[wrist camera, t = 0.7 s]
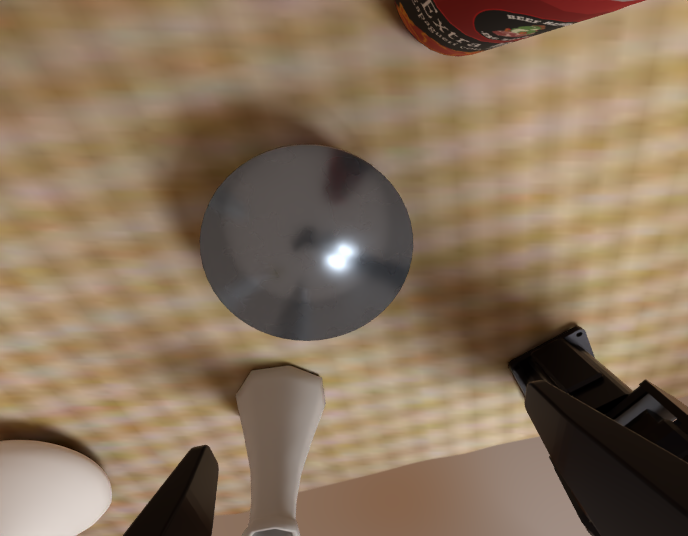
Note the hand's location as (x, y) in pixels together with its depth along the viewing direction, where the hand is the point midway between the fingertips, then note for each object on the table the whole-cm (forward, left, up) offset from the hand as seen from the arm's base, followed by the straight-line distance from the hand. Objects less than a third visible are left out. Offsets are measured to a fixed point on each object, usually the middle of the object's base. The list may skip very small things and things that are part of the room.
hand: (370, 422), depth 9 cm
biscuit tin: (+1, +1, -14) cm, 14 cm away
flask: (-9, +11, -14) cm, 19 cm away
